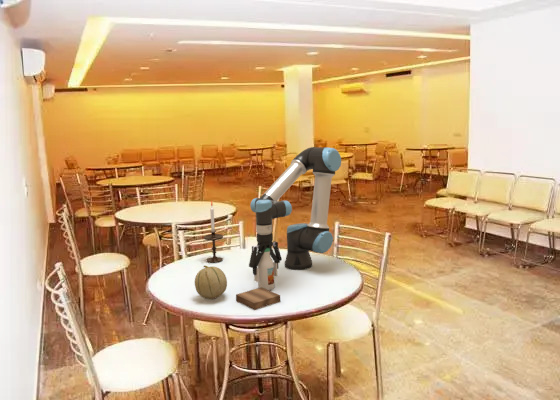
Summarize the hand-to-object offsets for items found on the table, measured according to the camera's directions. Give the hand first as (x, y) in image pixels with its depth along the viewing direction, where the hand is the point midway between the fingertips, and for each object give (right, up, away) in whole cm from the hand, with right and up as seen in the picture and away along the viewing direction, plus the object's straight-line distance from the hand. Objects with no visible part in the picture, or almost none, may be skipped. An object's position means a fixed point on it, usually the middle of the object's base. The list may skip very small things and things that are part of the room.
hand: (266, 278), depth 234 cm
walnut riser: (-3, -8, -16) cm, 18 cm away
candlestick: (-31, +2, +49) cm, 58 cm away
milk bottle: (0, -5, +1) cm, 5 cm away
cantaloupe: (-25, -8, -10) cm, 27 cm away
